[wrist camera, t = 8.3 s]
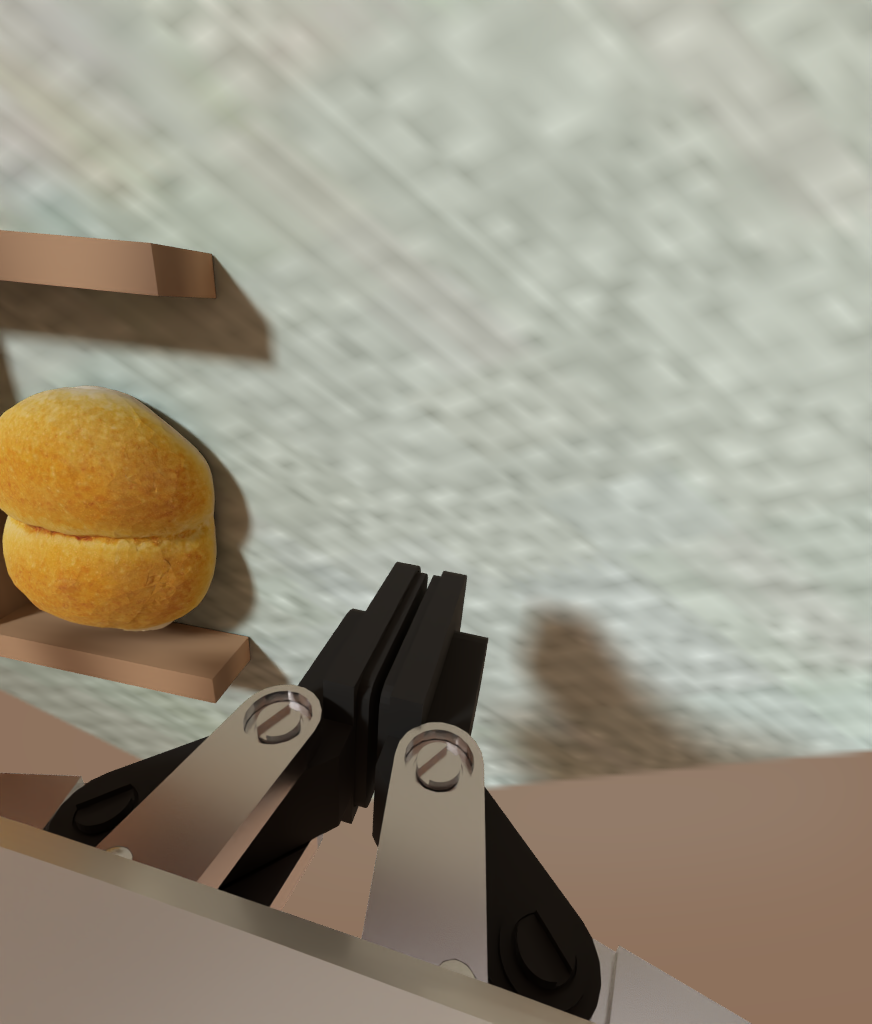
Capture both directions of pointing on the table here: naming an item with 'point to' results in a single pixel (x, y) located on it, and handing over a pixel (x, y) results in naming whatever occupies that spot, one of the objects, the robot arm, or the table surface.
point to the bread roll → (104, 510)
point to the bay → (3, 607)
